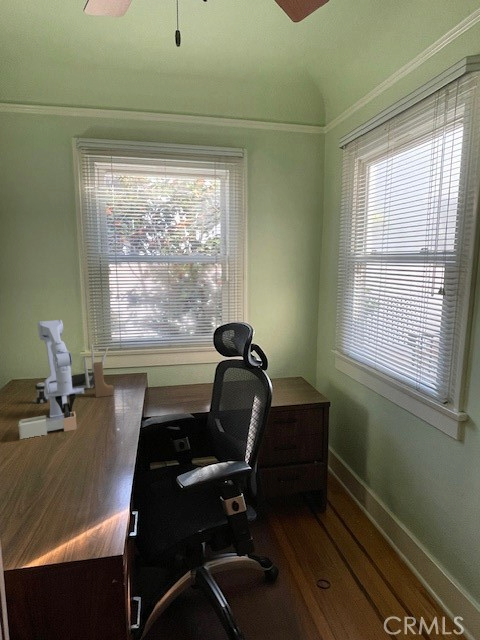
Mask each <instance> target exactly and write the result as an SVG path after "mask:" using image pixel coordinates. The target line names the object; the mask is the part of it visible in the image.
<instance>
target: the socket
mask: <svg viewBox="0 0 480 640" xmlns="http://www.w3.org/2000/svg"><path fill="white" fill-rule="evenodd" d="M70 414H72V416H73V417H68V418H63V422H64V428H63V432H69V431H75V430H77V429H78V428H77V427H78V425H77V415H76V411H72V412H70ZM62 416H64V414H63V415H62Z"/></svg>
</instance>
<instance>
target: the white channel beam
mask: <svg viewBox="0 0 480 640" xmlns="http://www.w3.org/2000/svg"><path fill="white" fill-rule="evenodd" d="M46 419H47V415H40V416H34V417H29V418H23V419H19V422H18V432H19V433H18V434H19V440H20V439H23V438H29V437H34V436H40V437H42V436H41V435H45V436H48V431H47V429H46Z"/></svg>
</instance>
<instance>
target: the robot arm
mask: <svg viewBox="0 0 480 640" xmlns="http://www.w3.org/2000/svg"><path fill="white" fill-rule="evenodd" d="M37 330H38V331H37V332H38V337H39V340H42V341H44V343H45V348H46V355H47V362H48V369H49V376H47V378H46V379H45V380H44V383H45V394H46V399H48V401H49V418H53V417H58V416H63V414H64V410H63V404H64V403H68V400H69V406H70V412H73V405H74V403H75V400H76V395H78V394H85V389H84V388H74V389H72V378H71V376H72V368H71V366H73V365H72V364H73V359H72V354H71V352H70V351H69V350H68V349H67V346H66V343H65V342H64V341H63V340H62V336H63V332H64V324H63V320H62V319H55V320H44V321H41V320H39V321H38V322H37ZM67 396H68V397H67Z"/></svg>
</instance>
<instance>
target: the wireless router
mask: <svg viewBox="0 0 480 640" xmlns="http://www.w3.org/2000/svg"><path fill="white" fill-rule="evenodd" d="M90 347H91V350H90V351H91V372H89V371H88V363H87V362H88V361H87V358H86V356H84V357H83V366H84V373H80V374H79V373H78V374H73V375H72V374H71V378H72V389H74V388H84V390H85V389H93V388H94V387H95V383H94V369H93V363H95V353H94V352H95V351H94V344H93V343H91V346H90ZM108 349H109V346H107V347H106V348H105V351H104V355H102V357H101V361H100V362H102V363H103V367H104V365H105V360H106V358H107V353H108V351H109V350H108Z"/></svg>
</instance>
